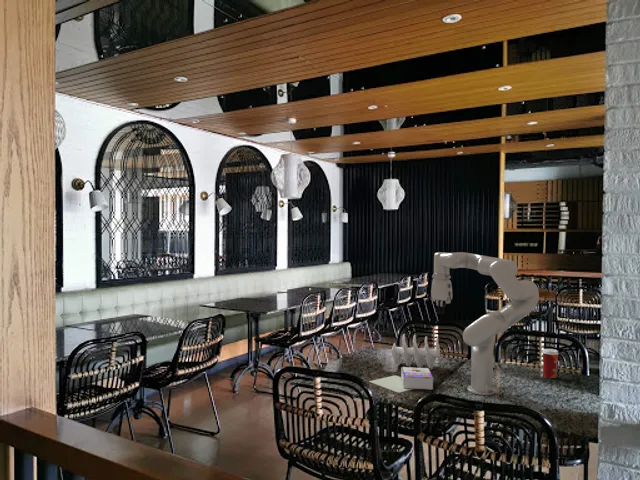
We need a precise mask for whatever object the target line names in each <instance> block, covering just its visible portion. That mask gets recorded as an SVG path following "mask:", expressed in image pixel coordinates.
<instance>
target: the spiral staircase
mask: <svg viewBox="0 0 640 480" xmlns="http://www.w3.org/2000/svg"><path fill="white" fill-rule="evenodd" d="M401 336H402V338H401V346H396V343H395V342H394V343H393V344H392V348H391V357H392V360H393V363H394V365H397V366H400V364H401V363H402V359H403V362H404V363H405V367H411V365H412V363H413V358H414V362H415V365H416V366H417V367H416V368H424V367H423V366H424V362H425V361H426V364H427V367H428V368H429V369H430V371H431V370H432V371H433V368H435V362H436V361H437V358H438V357H439V358H440V355H441V347H440V344H439V336H437V337H436V339H435V348H429V344H428V336H425V337H424V347H418V343H417V336H416V334H414V335H413V337H412V347H407V342H406V333H403V334H402V335H401Z"/></svg>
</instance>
